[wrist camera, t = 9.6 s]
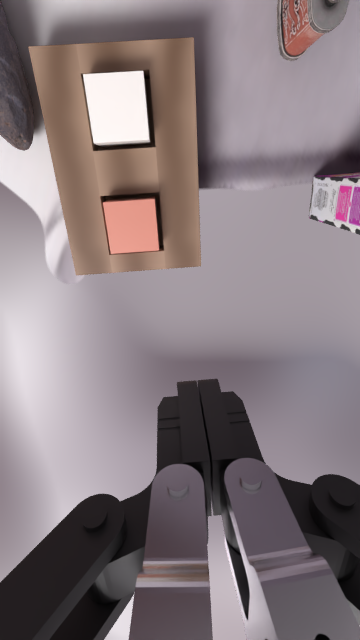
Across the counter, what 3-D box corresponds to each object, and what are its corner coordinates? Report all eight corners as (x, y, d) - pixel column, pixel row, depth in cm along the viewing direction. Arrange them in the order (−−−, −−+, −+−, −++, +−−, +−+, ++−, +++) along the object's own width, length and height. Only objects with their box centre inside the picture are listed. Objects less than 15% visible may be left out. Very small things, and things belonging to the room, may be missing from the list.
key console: (189, 53, 30) (193, 37, 27) (197, 257, 39) (201, 266, 35) (44, 62, 30) (28, 46, 26) (84, 265, 38) (76, 275, 35)
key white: (145, 83, 30) (143, 70, 26) (150, 143, 32) (149, 139, 28) (92, 86, 29) (82, 74, 26) (101, 146, 32) (93, 143, 28)
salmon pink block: (155, 196, 34) (154, 199, 30) (159, 242, 36) (159, 250, 32) (109, 199, 34) (102, 202, 30) (115, 245, 36) (110, 253, 32)
